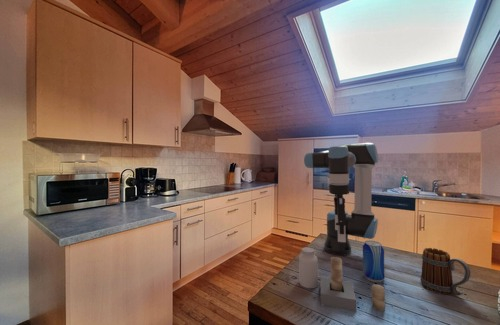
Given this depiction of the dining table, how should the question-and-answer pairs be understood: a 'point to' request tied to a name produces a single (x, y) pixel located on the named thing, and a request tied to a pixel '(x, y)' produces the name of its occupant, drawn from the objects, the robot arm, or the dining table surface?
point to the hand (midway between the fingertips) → (340, 235)
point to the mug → (441, 272)
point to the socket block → (338, 295)
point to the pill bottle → (308, 268)
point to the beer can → (373, 261)
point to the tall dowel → (336, 274)
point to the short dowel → (378, 297)
